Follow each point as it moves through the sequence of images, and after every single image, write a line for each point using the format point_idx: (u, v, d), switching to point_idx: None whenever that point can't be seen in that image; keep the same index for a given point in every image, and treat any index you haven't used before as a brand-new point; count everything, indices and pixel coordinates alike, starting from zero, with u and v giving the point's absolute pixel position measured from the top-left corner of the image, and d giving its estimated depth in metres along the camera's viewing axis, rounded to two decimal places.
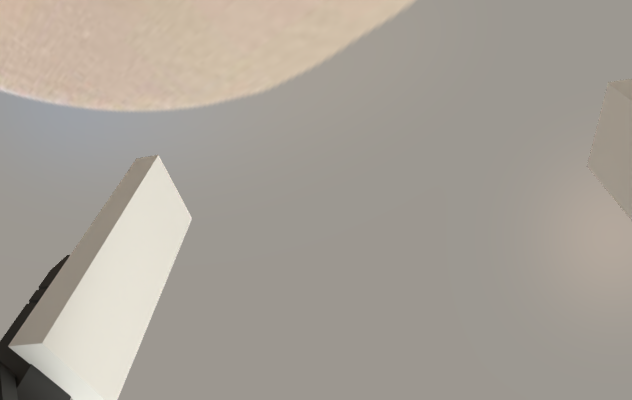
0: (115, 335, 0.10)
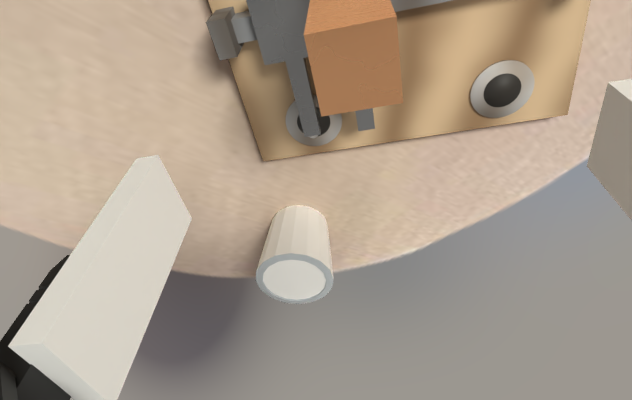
0: (115, 335, 0.10)
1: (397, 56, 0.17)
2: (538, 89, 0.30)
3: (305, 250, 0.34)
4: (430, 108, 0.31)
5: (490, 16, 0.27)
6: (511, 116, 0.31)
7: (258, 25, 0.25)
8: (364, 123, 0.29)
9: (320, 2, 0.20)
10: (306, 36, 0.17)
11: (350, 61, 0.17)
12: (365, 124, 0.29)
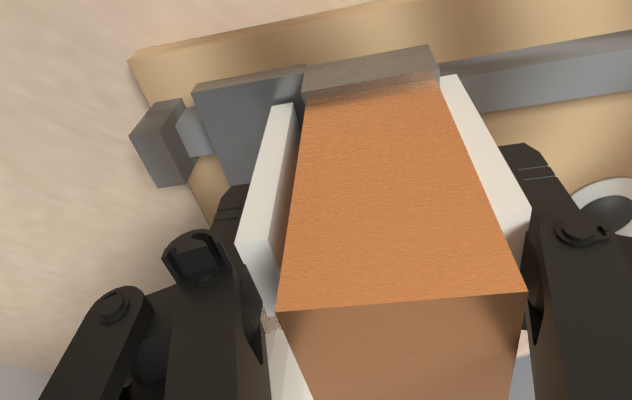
0: None
1: (511, 351, 0.07)
2: None
3: None
4: None
5: (603, 117, 0.16)
6: None
7: (217, 139, 0.15)
8: None
9: (321, 150, 0.10)
10: (282, 314, 0.07)
11: (392, 354, 0.07)
12: None
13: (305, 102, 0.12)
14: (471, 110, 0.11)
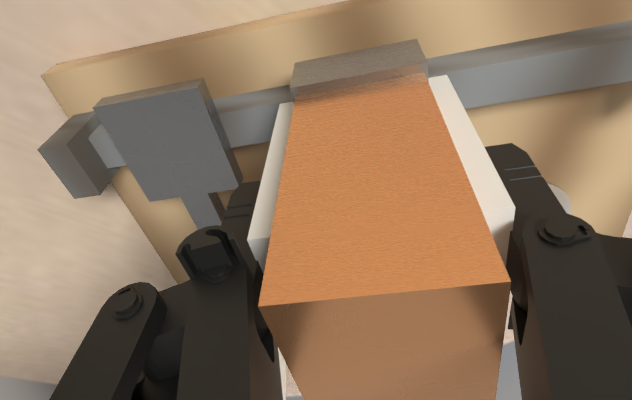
0: None
1: (497, 343, 0.07)
2: (576, 216, 0.20)
3: None
4: None
5: (506, 125, 0.17)
6: None
7: (126, 151, 0.16)
8: None
9: (308, 145, 0.10)
10: (265, 308, 0.07)
11: (378, 348, 0.07)
12: None
13: (294, 98, 0.12)
14: (460, 111, 0.11)
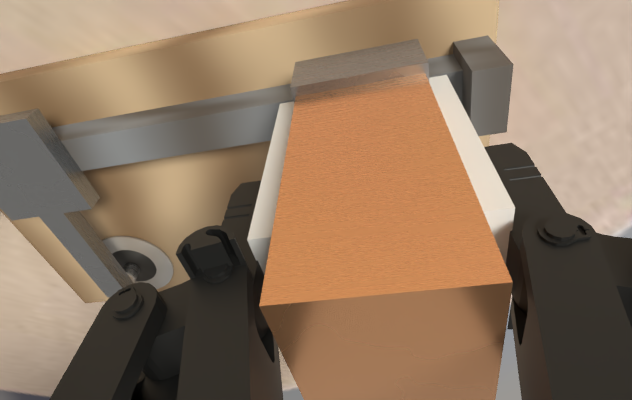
0: None
1: (498, 343, 0.07)
2: None
3: None
4: None
5: None
6: None
7: None
8: None
9: (309, 144, 0.10)
10: (266, 308, 0.07)
11: (379, 348, 0.07)
12: None
13: (294, 97, 0.12)
14: (459, 111, 0.11)
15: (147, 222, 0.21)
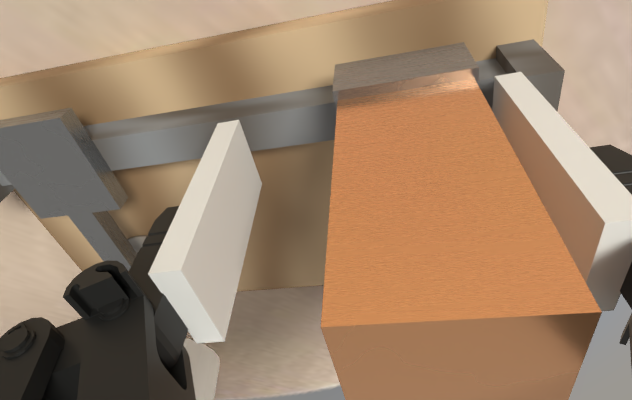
0: (222, 277, 0.11)
1: (572, 373, 0.06)
2: None
3: None
4: (313, 257, 0.22)
5: None
6: None
7: (8, 172, 0.17)
8: None
9: (357, 152, 0.10)
10: (328, 329, 0.06)
11: (441, 372, 0.07)
12: None
13: (336, 102, 0.12)
14: (549, 110, 0.10)
15: None
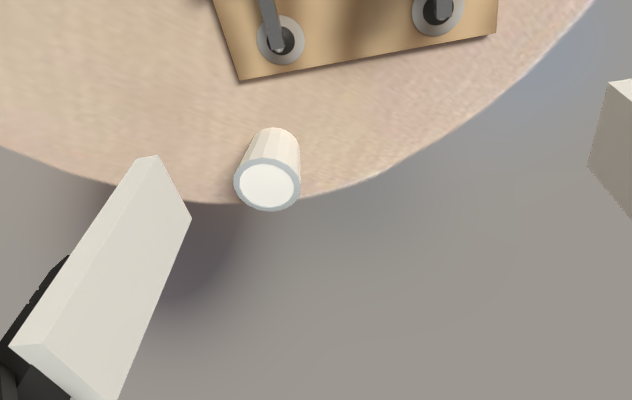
0: (115, 335, 0.10)
1: None
2: (468, 8, 0.35)
3: (275, 156, 0.40)
4: (379, 27, 0.36)
5: None
6: (448, 34, 0.37)
7: None
8: (443, 11, 0.33)
9: None
10: None
11: None
12: (443, 12, 0.33)
13: None
14: None
15: (297, 2, 0.35)
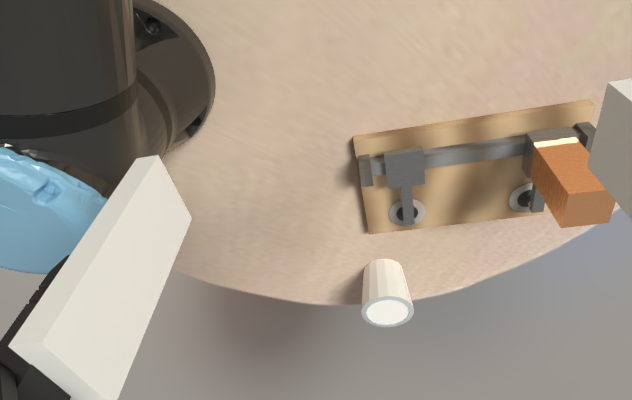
0: (115, 335, 0.10)
1: (613, 203, 0.34)
2: None
3: (397, 293, 0.52)
4: (482, 206, 0.49)
5: None
6: None
7: (388, 170, 0.43)
8: (537, 208, 0.45)
9: (553, 161, 0.37)
10: (569, 194, 0.33)
11: (588, 205, 0.34)
12: (537, 209, 0.45)
13: (534, 145, 0.39)
14: None
15: (424, 192, 0.48)
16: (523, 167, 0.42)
